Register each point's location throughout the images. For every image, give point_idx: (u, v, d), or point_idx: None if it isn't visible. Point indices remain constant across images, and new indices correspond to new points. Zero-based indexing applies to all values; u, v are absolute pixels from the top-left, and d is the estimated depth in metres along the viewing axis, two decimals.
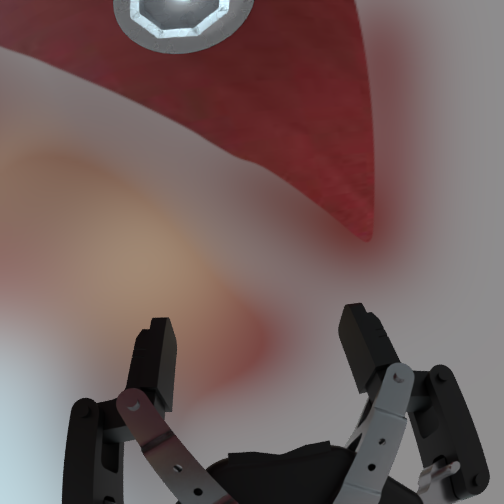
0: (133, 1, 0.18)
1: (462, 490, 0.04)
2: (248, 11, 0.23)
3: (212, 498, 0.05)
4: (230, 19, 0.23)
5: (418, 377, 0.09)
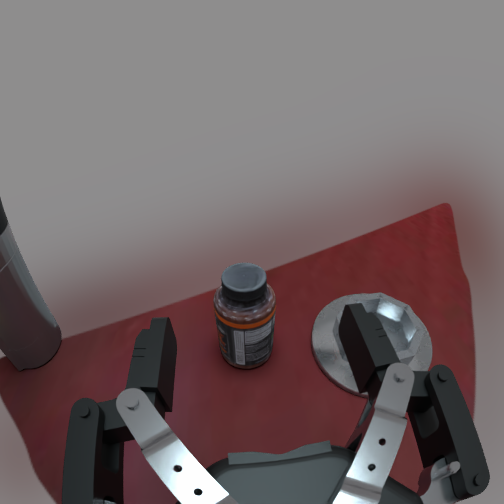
0: (398, 356, 0.25)
1: (462, 490, 0.04)
2: None
3: (212, 498, 0.05)
4: None
5: (418, 377, 0.09)
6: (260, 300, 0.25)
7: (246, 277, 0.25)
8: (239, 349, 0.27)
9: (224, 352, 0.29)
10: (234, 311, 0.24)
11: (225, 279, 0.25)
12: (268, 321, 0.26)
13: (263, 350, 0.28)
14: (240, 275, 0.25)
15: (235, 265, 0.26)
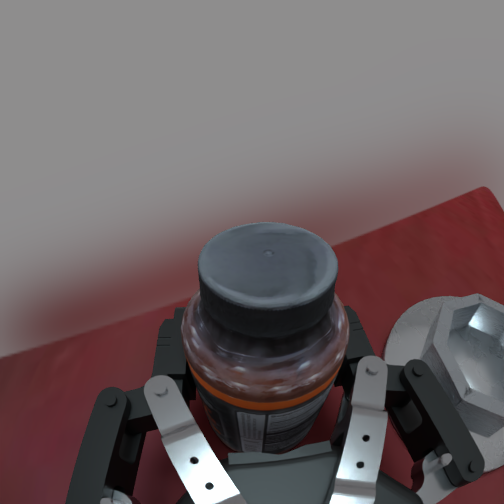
0: None
1: (459, 479, 0.05)
2: (452, 298, 0.20)
3: (222, 494, 0.05)
4: None
5: (393, 371, 0.09)
6: (318, 331, 0.08)
7: (275, 258, 0.08)
8: (251, 439, 0.10)
9: (216, 431, 0.12)
10: (238, 367, 0.07)
11: (209, 264, 0.08)
12: (332, 380, 0.09)
13: (304, 431, 0.11)
14: (258, 254, 0.08)
15: (241, 228, 0.09)
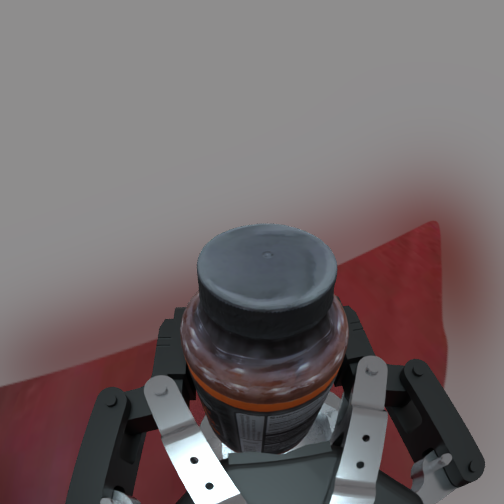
0: None
1: (459, 479, 0.05)
2: None
3: (222, 494, 0.05)
4: None
5: (393, 371, 0.09)
6: (317, 333, 0.08)
7: (275, 260, 0.08)
8: (251, 440, 0.10)
9: (215, 432, 0.12)
10: (237, 368, 0.07)
11: (208, 267, 0.08)
12: (331, 382, 0.09)
13: (303, 432, 0.11)
14: (258, 255, 0.08)
15: (240, 229, 0.09)
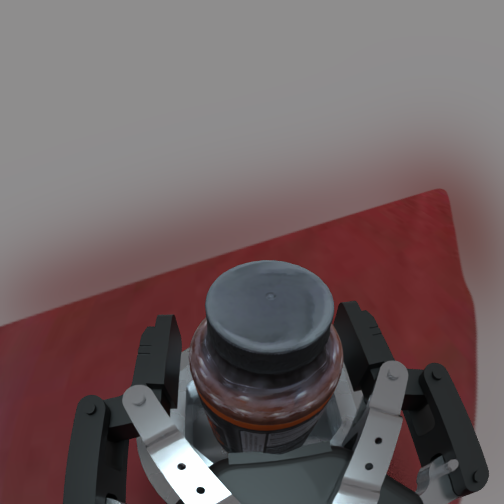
0: None
1: (461, 487, 0.04)
2: None
3: (214, 497, 0.05)
4: None
5: (412, 375, 0.09)
6: (314, 365, 0.08)
7: (277, 302, 0.08)
8: (252, 451, 0.10)
9: (219, 441, 0.12)
10: (242, 396, 0.08)
11: (216, 308, 0.08)
12: (326, 403, 0.09)
13: (300, 443, 0.11)
14: (261, 297, 0.09)
15: (244, 267, 0.10)
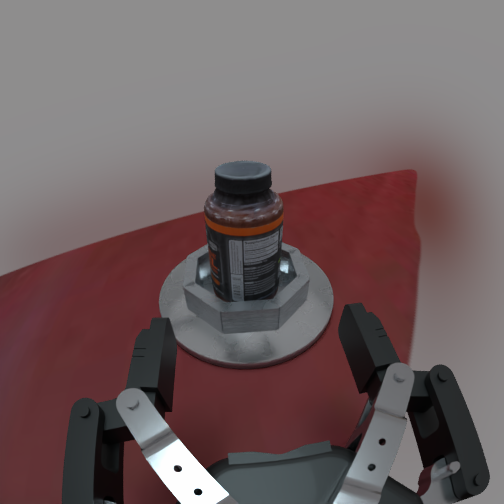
0: (251, 306, 0.21)
1: (462, 490, 0.04)
2: None
3: (212, 498, 0.05)
4: None
5: (418, 377, 0.09)
6: (263, 198, 0.19)
7: (245, 168, 0.19)
8: (236, 274, 0.21)
9: (217, 285, 0.23)
10: (229, 210, 0.19)
11: (219, 170, 0.19)
12: (275, 230, 0.20)
13: (267, 279, 0.22)
14: (239, 168, 0.19)
15: (232, 162, 0.21)
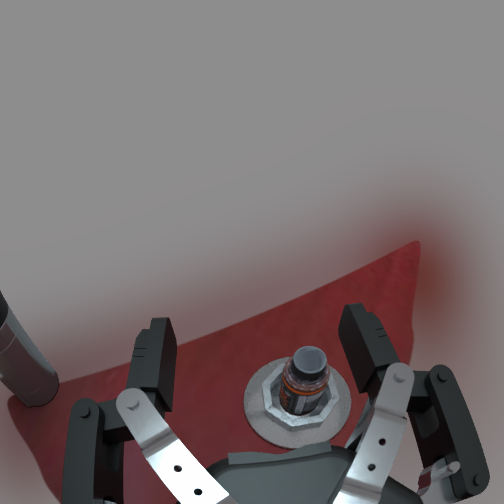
0: (307, 421, 0.32)
1: (462, 490, 0.04)
2: None
3: (212, 498, 0.05)
4: None
5: (418, 377, 0.09)
6: (321, 375, 0.30)
7: (312, 360, 0.30)
8: (300, 405, 0.32)
9: (285, 405, 0.34)
10: (302, 384, 0.30)
11: (297, 363, 0.30)
12: (324, 387, 0.31)
13: (316, 403, 0.33)
14: (307, 359, 0.31)
15: (302, 349, 0.32)
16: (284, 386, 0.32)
